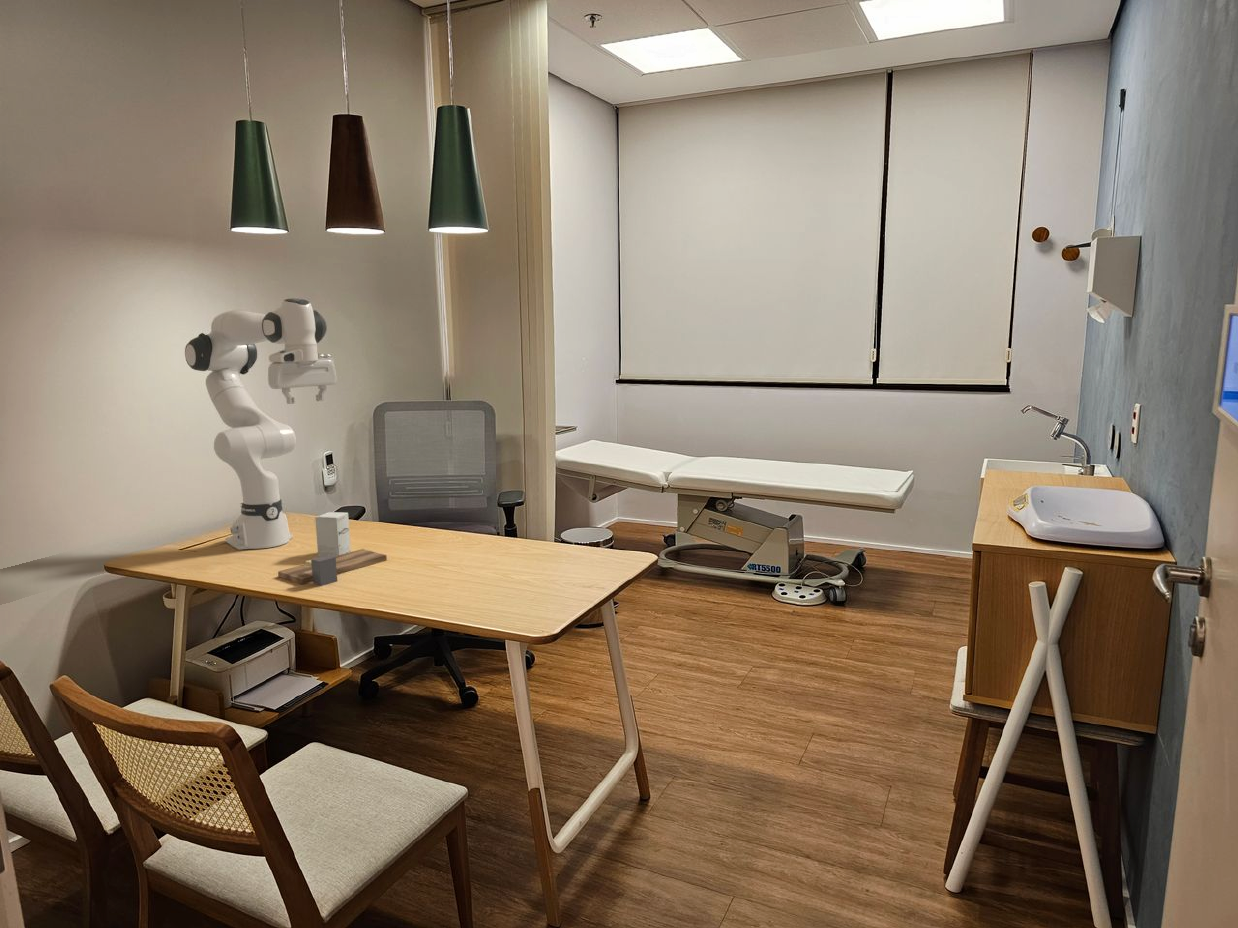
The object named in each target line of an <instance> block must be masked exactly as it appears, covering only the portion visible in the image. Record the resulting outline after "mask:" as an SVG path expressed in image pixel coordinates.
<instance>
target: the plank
mask: <svg viewBox="0 0 1238 928" xmlns="http://www.w3.org/2000/svg"><path fill="white" fill-rule="evenodd" d="M334 557H336V569H337V575H340V574H344V573H347V572H351V571H354V570H359V569H361V568H365V567H368V566H371V565H375V564H379V563H381V562H382V563H383V562H386V561H387V560H388V559H387V558H388V557H387V555H386V554H384V553H380V552H375V551H372V550H368V549H365V548H361V549H357V550H353V551H350V552H347V553H345V554H342V555H338V556H334ZM277 574H278V576H277V577H278V578H281V579H283V580H287V581H289V582H292V583H295V584H299V585H301V586H303V585H305V584H308V583H313V576H312V566H308V565H305V563H304V564H301V565H297V566H294V567H291V568H286V569H283V570H278V571H277Z"/></svg>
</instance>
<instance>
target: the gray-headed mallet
mask: <svg viewBox="0 0 1238 928" xmlns="http://www.w3.org/2000/svg"><path fill="white" fill-rule="evenodd" d="M304 564H305V565H308V566H312V576H313V582H312V584H313V585H317V586H319V587H323V586H326V585H330V584H333V583H337V582H338V574H337V569H336V557H333V556H330V555H325V556H317V557H313V558H311V559H309V560H305V561H304Z"/></svg>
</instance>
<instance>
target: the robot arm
mask: <svg viewBox="0 0 1238 928" xmlns="http://www.w3.org/2000/svg"><path fill="white" fill-rule="evenodd" d="M312 306H313V305H312V304H311V301H309V300H306V299H302V298H286V299H283V301H282V303H281V305H280V307H278V308H276V309H274V310H273V311H269V312H267V314H264V313H259V312H254V311H249V310H238V309H236V310H230V311H225V312H222V313H220V314H218V315H216V316H215V317H214V318H213V319H212V321H211V324H210V325H211V326H210V330H211V331H210V332H209V333H208V334H205V333H203V332H202V333H199V334H198V336H196V337H194V338H192V339H191V340H189V342H188V343H187V344H186V345H185V347H184V358H185V361H186V363H187V365H188V366H189V367H190V369H192V370H194V371H198V372H206V371H209V372H210V371H211V372H210V373H209V374H207V376H206V379H205V386H206V390H207V394H208V396H209V398H210V401H211V403H212V404H213V406H214V408H215V410H216V412H217V413H218V415H219V417H220V418H221V420H222V422H223V423H224V425H226V426H227V427H229V429H226V430H223V431H221V432H218V433H217V434H216V437H215V438H214V442H213V450H214V452H215V455H216V456H217V457H218V459H219V460H221V461H222V462H224V463H226V464H228V466H230V467H231V468H232V469H233V470H234V472H235V473H236V476H237V477H238V479H239V483H240V487H241V494H242V495H241V496H242V503H240V508H241V509H240V515H239V516H238V517H237V518H236V519H235V521H234V522H232V525H231V527H230V533H231V534H232V535H231V536H228V537H225V539H224V542H225V543H226V544H228V545H230V546H232V547H233V548H234V549H236V550H239V551H241V550H250V549H251V550H252V549H253V550H254V549H255V550H257V549H258V550H259V549H268V548H273V547H274V548H275V547H279V546H282V545H285V544H287V543H289V542H290V540H291V539H292V538H294V535H293V533H290V529H289V522H288V519H287V515H286V514H285V513H284V512H283V501H282V499H281V495H280V484H279V483H280V482H279V478H278V477H277V475H276V474H275V473H274V472H272V471H270V470H268V469H266V468H263V466H262V464H261V460H265V459H270V458H277V457H281V456H284V455H286V454H287V455H288V454H289V453H291V452H293V451H294V449H295V447H296V445H297V436H296V433H295V431H294V429H293V428H292V427H291V426H290V425H289V424H286V423H283V422H280V421H278V420H276V419H273V418H272V417H271V416H269V415H268V414H266V413H265V412H264V411H262V410H261V409H260V408H259V406H257V404H256V403H255V401H254V400H253V399H252V397H251V395H250V394H249V392H248V390H247V388H246V387H245V385H244V384H243V383H242V381H241V378H240V377H241V376H240V375H246V374H248V373H249V370H250V369H252V368H253V366H254V365H255V363H256V362H257V359H258V350H257V346H256V344H258V343H263V342H270V343H271V344H279V345H280V344H282V345H283V344H284V349H281V350H279V351H277V352H274V353H271V354H269V355H268V360H269V363H270V364H269V366H268V369H267V371H268V372H267V378H268V379H267V380H268V386H269V387H270V388H271V389H273V390H281V392H282V394H283V395H284V397H285V398H286V403H287V405H292V404H295V397H292V396H291V394H290V392H291V389H295V388H306V387H307V388H308V387H317V388H318V390H319V391H318V393H317V394H316V395H315V400H316V402H322V401H324V399H325V398H324V396H325V393H326V390H327V386H330V385H331V386H332V385H336V384H337V382H338V378H337V371H336V368H335V359H334V357H333V356H332V355H330V354H329V353H324V354H323V353H322V354H321V353H320V354H318V344H319V343H320V342H321V341H322V340H323V338H324V337H325V336H326V334H327V326H328V325H327V322H326V320H325V318H324V317H323V316H322V315H321V313H320V312H318V310H315V309H314V308H313V307H312Z"/></svg>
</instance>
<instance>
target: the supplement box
mask: <svg viewBox="0 0 1238 928" xmlns="http://www.w3.org/2000/svg"><path fill="white" fill-rule="evenodd" d="M314 518H315V530H316V531H315V533H316V545H317V557H321V556H325V555H330V556H333V557H334V556H338V555H342V554H346V553H349V552H352V551H351V550H352V548H351V535H350V534H351V533H350V521H349V520H350V519H349V512H342V511H341V512H337V511H335V512H333V511H332V512H331V511H329V512H328V511H327V512H326V513H323V514H320V515H318V516H315V517H314Z"/></svg>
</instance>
